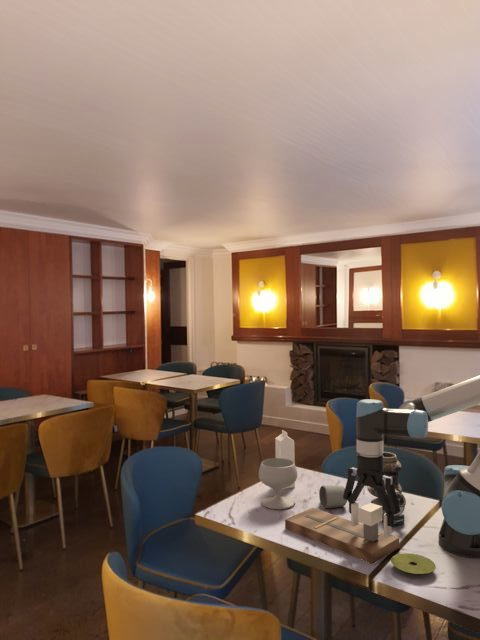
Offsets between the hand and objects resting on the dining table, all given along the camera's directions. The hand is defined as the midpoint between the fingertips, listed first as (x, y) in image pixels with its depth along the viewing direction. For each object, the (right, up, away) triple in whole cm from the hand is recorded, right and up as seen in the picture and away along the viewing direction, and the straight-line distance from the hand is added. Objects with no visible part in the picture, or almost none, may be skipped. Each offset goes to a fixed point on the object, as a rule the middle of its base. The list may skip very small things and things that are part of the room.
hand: (370, 530), depth 143 cm
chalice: (-24, -6, +36) cm, 44 cm away
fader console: (-7, -6, +8) cm, 12 cm away
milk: (-20, -6, +55) cm, 59 cm away
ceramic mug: (-5, -6, +34) cm, 35 cm away
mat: (+8, -6, -12) cm, 15 cm away
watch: (+12, -6, +18) cm, 22 cm away
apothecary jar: (+14, -6, +35) cm, 38 cm away
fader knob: (0, -2, 0) cm, 2 cm away
